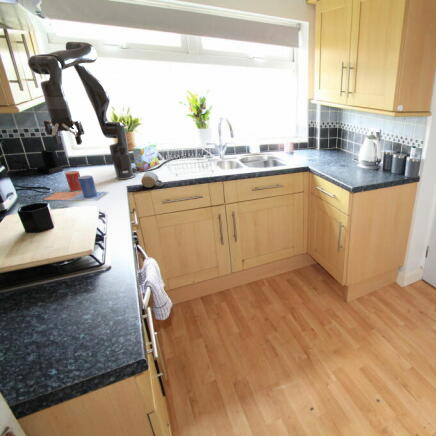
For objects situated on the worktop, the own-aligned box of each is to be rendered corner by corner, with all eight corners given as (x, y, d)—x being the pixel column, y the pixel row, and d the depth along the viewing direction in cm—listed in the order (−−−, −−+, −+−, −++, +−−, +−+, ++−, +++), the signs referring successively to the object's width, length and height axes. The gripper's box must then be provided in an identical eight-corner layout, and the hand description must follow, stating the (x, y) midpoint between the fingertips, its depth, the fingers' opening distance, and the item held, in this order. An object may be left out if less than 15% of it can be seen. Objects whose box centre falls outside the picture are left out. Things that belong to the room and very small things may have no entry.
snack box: (144, 171, 211) (140, 148, 205) (136, 170, 211) (131, 148, 205) (159, 163, 231) (155, 142, 224) (151, 163, 230) (147, 142, 224)
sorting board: (57, 193, 168) (56, 192, 168) (106, 192, 172) (106, 191, 171) (43, 200, 158) (43, 199, 158) (96, 199, 162) (96, 198, 162)
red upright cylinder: (74, 188, 176) (68, 170, 172) (86, 188, 177) (81, 170, 173) (67, 192, 170) (62, 174, 166) (80, 191, 171) (74, 174, 167)
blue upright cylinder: (87, 193, 168) (82, 175, 163) (99, 193, 168) (94, 175, 164) (81, 197, 162) (75, 178, 158) (93, 197, 163) (88, 178, 159)
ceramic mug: (141, 188, 179) (139, 175, 176) (144, 184, 187) (142, 171, 183) (162, 188, 182) (160, 175, 179) (164, 183, 190) (162, 171, 186)
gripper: (80, 106, 143) (90, 142, 150) (45, 105, 141) (57, 142, 148) (70, 108, 136) (81, 146, 143) (33, 107, 134) (46, 146, 141)
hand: (69, 144), depth 145 cm, fingers open, 8 cm apart
